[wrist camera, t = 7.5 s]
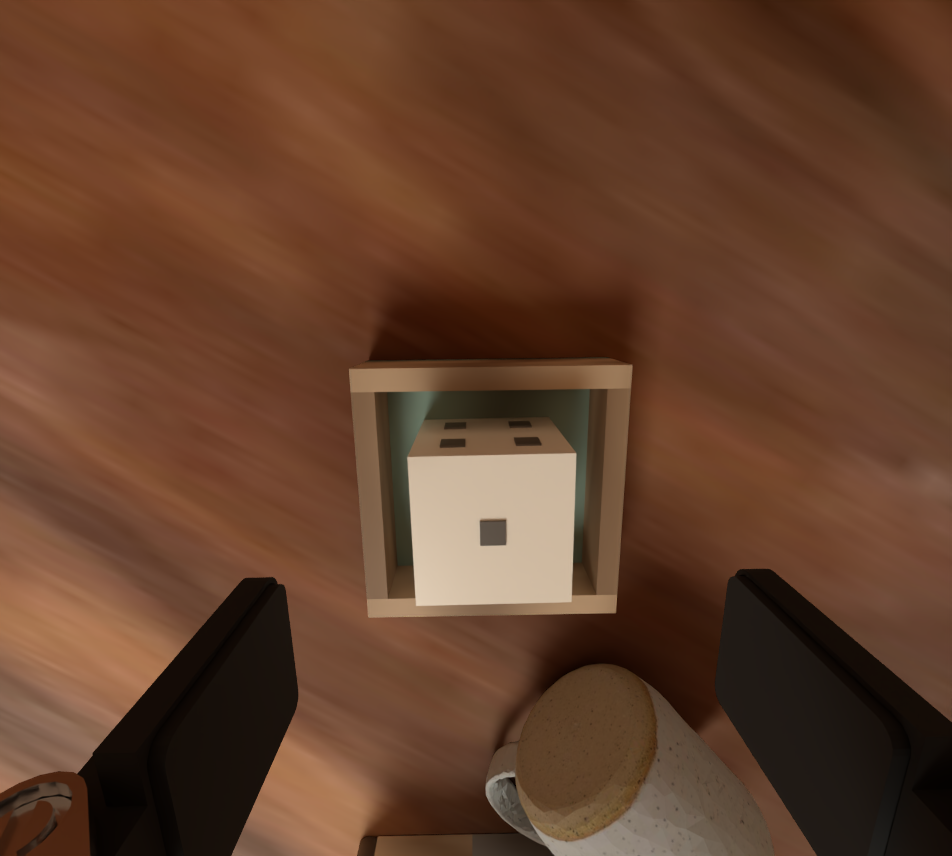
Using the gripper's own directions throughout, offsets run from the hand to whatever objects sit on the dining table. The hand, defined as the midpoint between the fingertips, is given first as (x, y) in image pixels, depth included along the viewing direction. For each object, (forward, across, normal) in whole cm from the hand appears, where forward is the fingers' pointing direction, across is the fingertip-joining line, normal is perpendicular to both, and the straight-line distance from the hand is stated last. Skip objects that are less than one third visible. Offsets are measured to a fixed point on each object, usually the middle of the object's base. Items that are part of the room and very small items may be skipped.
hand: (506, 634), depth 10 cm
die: (+10, 0, 0) cm, 10 cm away
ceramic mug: (+11, -5, +14) cm, 18 cm away
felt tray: (+10, 0, 0) cm, 10 cm away
